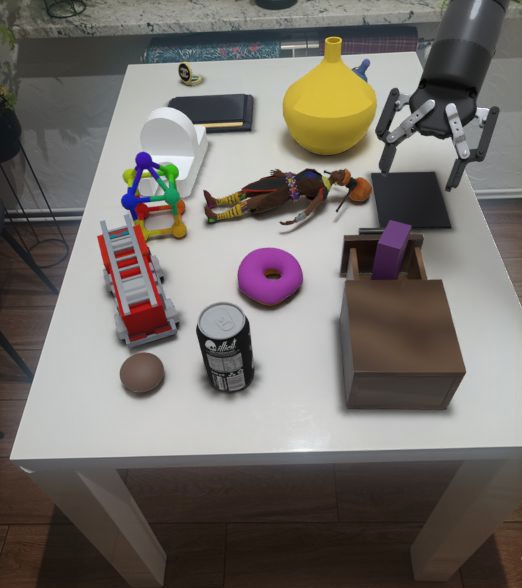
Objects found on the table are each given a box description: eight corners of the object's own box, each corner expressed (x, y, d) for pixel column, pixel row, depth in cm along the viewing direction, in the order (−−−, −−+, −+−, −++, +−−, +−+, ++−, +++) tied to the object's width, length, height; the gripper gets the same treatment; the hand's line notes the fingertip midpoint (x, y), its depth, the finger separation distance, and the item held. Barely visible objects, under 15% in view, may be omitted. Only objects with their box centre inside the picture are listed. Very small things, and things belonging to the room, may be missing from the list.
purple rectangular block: (377, 277, 73) (389, 219, 64) (396, 283, 72) (411, 225, 63) (366, 299, 70) (377, 242, 61) (386, 305, 69) (400, 248, 60)
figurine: (201, 170, 88) (361, 132, 85) (213, 205, 95) (362, 171, 92) (203, 224, 79) (383, 184, 76) (216, 259, 86) (382, 223, 83)
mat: (434, 173, 91) (434, 171, 91) (451, 228, 82) (451, 226, 81) (371, 175, 92) (371, 172, 91) (380, 229, 82) (381, 227, 82)
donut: (266, 319, 72) (265, 299, 68) (224, 284, 76) (221, 263, 73) (315, 285, 75) (316, 264, 72) (272, 253, 80) (271, 232, 76)
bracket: (188, 197, 90) (177, 141, 81) (138, 195, 91) (121, 139, 82) (209, 142, 101) (201, 87, 92) (163, 141, 102) (151, 86, 93)
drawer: (338, 250, 78) (341, 216, 73) (409, 249, 78) (418, 215, 72) (345, 335, 68) (350, 303, 62) (428, 335, 67) (440, 303, 62)
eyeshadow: (205, 79, 118) (202, 58, 114) (191, 87, 116) (188, 66, 112) (192, 75, 120) (189, 53, 116) (178, 83, 118) (175, 61, 114)
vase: (363, 116, 104) (376, 16, 89) (378, 164, 94) (395, 60, 78) (280, 121, 105) (279, 23, 89) (285, 170, 94) (284, 67, 78)
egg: (120, 398, 65) (111, 383, 61) (127, 363, 68) (119, 346, 65) (164, 397, 64) (157, 381, 61) (169, 361, 68) (163, 345, 65)
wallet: (254, 89, 110) (251, 124, 101) (254, 97, 112) (251, 132, 103) (169, 92, 111) (158, 127, 102) (170, 100, 113) (160, 135, 104)
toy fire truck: (157, 258, 81) (143, 210, 73) (185, 339, 70) (172, 293, 62) (105, 273, 79) (84, 225, 71) (126, 358, 69) (104, 313, 60)
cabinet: (339, 321, 71) (345, 280, 64) (426, 321, 70) (442, 279, 63) (346, 408, 62) (354, 372, 55) (446, 409, 61) (466, 372, 54)
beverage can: (232, 347, 69) (223, 290, 59) (264, 373, 66) (260, 318, 56) (198, 374, 66) (182, 320, 57) (229, 403, 63) (218, 350, 54)
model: (118, 245, 82) (113, 163, 71) (126, 211, 88) (123, 132, 77) (184, 252, 83) (190, 173, 73) (187, 219, 90) (193, 142, 79)
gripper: (403, 28, 58) (359, 163, 61) (527, 45, 53) (472, 189, 57) (407, 57, 65) (367, 177, 68) (517, 74, 60) (468, 201, 64)
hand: (415, 182), depth 62 cm, fingers open, 8 cm apart
